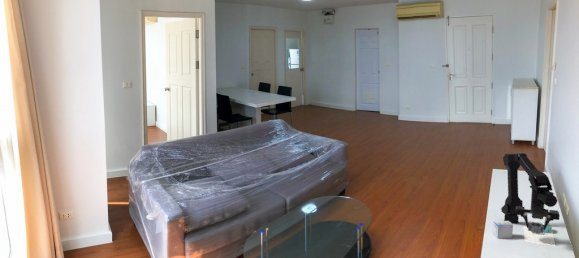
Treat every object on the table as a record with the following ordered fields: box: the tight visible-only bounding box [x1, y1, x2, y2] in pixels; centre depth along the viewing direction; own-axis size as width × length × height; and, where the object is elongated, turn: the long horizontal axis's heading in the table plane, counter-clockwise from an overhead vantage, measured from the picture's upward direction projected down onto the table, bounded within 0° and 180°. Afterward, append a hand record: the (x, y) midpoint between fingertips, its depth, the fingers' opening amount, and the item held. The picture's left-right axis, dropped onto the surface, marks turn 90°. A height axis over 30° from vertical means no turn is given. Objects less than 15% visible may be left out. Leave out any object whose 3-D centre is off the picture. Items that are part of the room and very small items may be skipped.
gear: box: [528, 221, 544, 234], centre depth 214 cm, size 7×7×3 cm
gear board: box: [523, 221, 556, 247], centre depth 220 cm, size 13×20×6 cm, turn 153°
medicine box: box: [492, 220, 514, 239], centre depth 221 cm, size 8×4×9 cm, turn 92°
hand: (535, 228), depth 215 cm, fingers closed on gear, 7 cm apart
